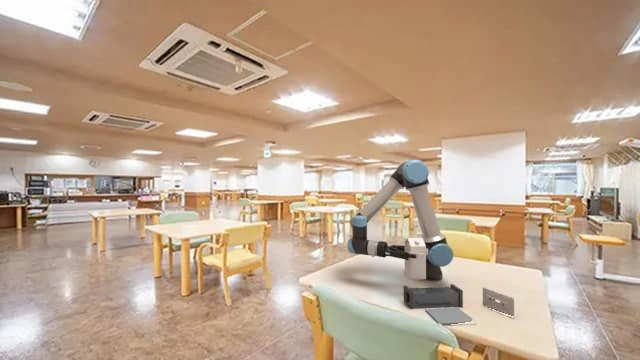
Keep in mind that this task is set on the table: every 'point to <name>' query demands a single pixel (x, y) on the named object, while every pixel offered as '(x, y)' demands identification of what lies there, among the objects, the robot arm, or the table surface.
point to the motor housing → (433, 297)
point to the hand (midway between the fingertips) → (426, 254)
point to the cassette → (504, 305)
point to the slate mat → (449, 316)
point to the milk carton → (414, 266)
